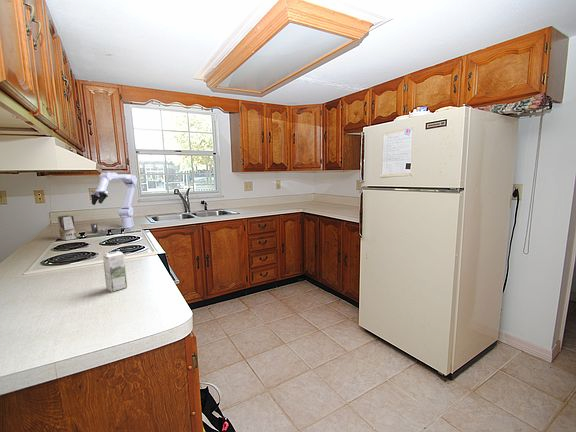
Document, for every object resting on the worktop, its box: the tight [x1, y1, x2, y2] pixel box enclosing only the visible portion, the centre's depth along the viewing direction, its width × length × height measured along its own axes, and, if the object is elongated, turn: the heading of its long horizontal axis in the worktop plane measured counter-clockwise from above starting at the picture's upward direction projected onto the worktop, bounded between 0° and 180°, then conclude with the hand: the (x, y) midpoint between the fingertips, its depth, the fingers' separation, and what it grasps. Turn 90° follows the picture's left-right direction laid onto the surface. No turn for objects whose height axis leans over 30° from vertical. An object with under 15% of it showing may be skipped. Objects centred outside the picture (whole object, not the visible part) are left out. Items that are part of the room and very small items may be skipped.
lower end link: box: [101, 228, 131, 235], centre depth 222 cm, size 10×16×2 cm, turn 95°
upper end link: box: [96, 227, 121, 235], centre depth 221 cm, size 10×14×2 cm
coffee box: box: [57, 214, 77, 241], centre depth 201 cm, size 9×6×16 cm
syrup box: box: [102, 250, 128, 293], centre depth 114 cm, size 6×6×14 cm
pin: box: [90, 222, 99, 234], centre depth 220 cm, size 4×4×7 cm
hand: (96, 203), depth 208 cm, fingers open, 7 cm apart
